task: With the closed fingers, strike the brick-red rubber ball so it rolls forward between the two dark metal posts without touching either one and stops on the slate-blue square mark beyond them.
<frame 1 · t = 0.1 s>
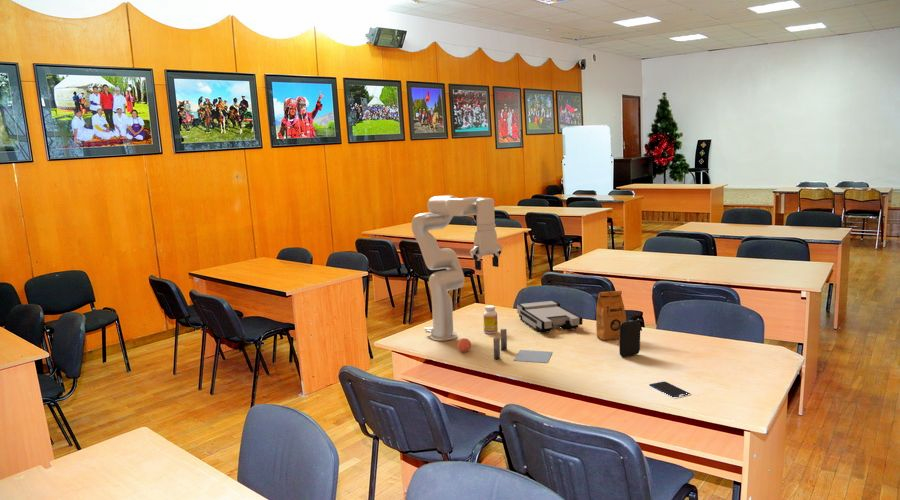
hand: (486, 268, 256), 37 cm above the table, tool pointing down, fingers open, 9 cm apart
carrying case or bag: (630, 356, 252), on the table
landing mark: (533, 356, 255), on the table
post 1: (497, 359, 253), on the table
cell phone: (669, 391, 215), on the table
game console: (548, 326, 302), on the table
ball: (464, 345, 264), on the table
post 2: (504, 349, 266), on the table
supplement bottle: (490, 332, 293), on the table
coffee package: (611, 338, 276), on the table
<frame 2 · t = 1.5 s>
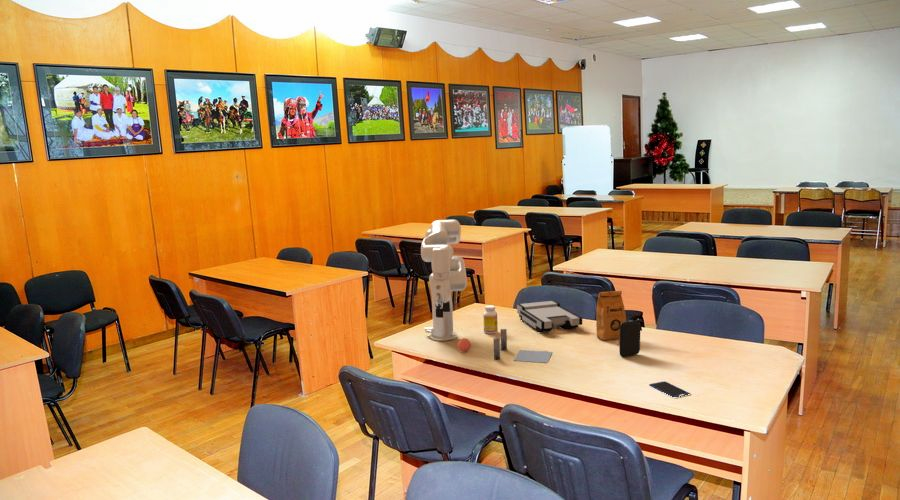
hand: (443, 314, 265), 16 cm above the table, tool pointing down, fingers open, 9 cm apart
nothing on the table moved.
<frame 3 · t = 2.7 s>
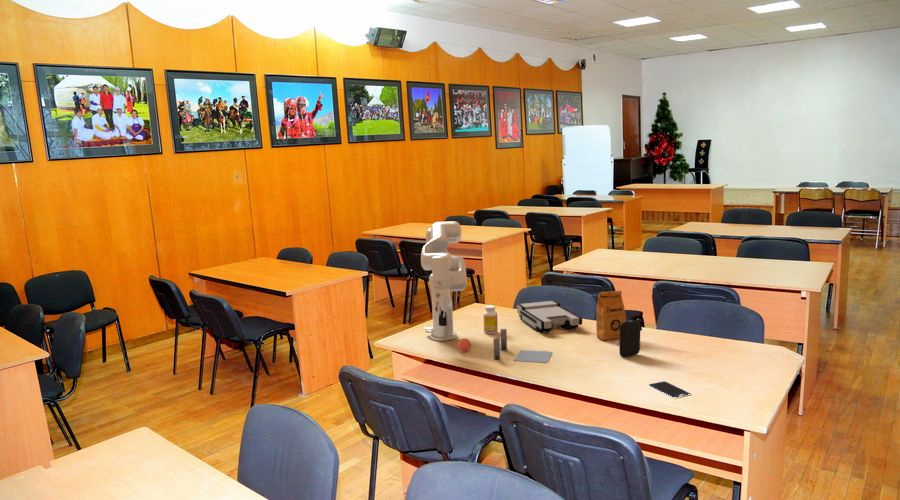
hand: (442, 325, 265), 12 cm above the table, tool pointing down, fingers closed
nothing on the table moved.
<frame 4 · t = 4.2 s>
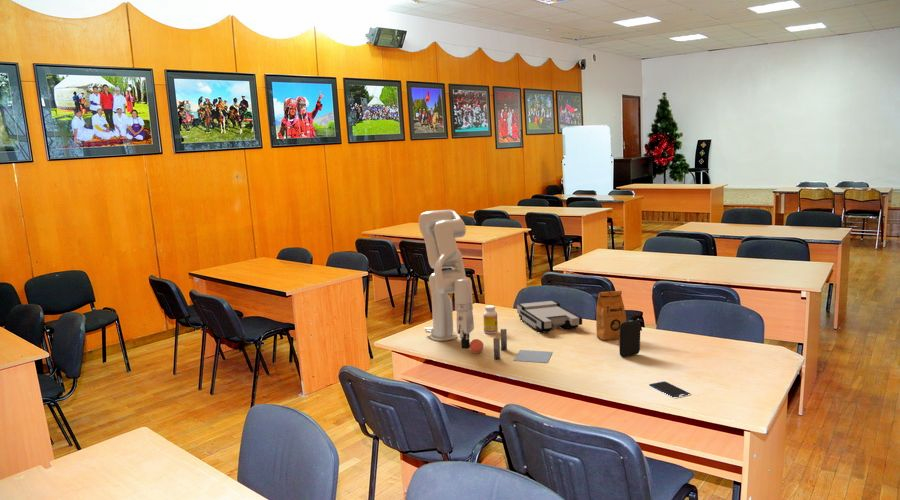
hand: (465, 348, 263), 2 cm above the table, tool pointing down, fingers closed
ball: (476, 346, 262), on the table
everything else where it was.
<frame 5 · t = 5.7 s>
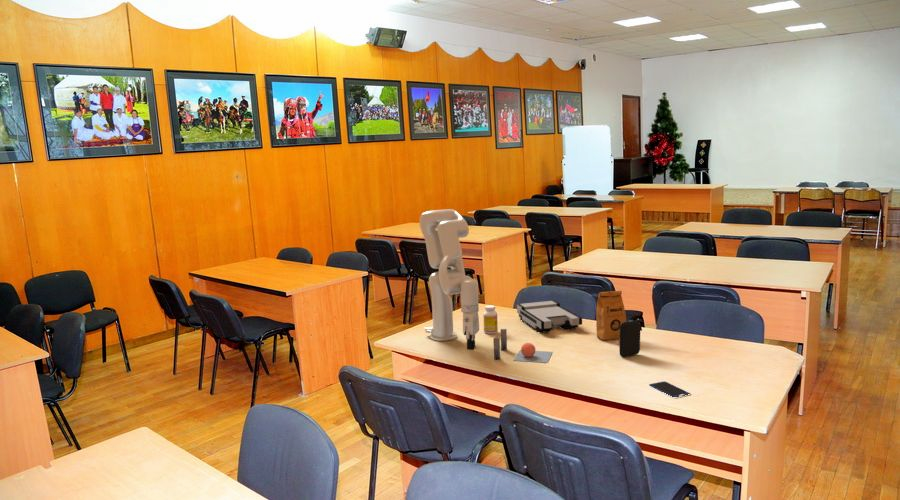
hand: (471, 349, 263), 2 cm above the table, tool pointing down, fingers closed
ball: (528, 350, 255), on the table
everything else where it was.
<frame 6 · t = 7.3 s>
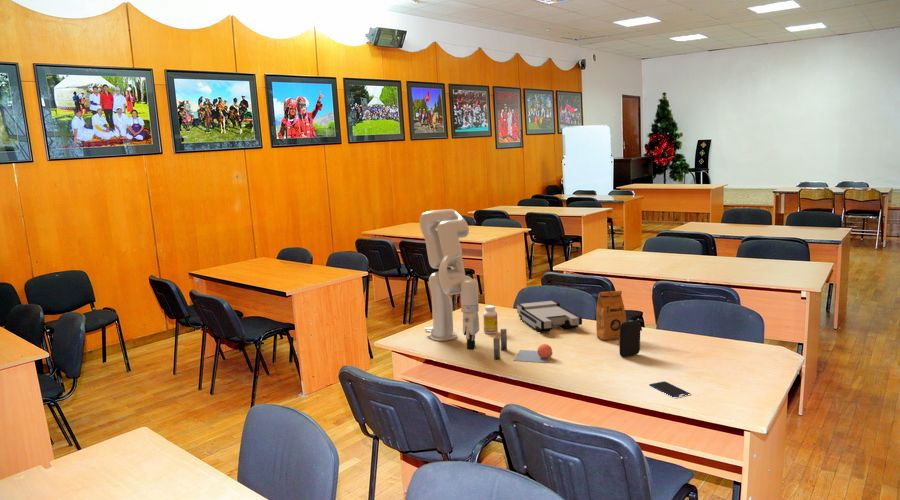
hand: (471, 349, 263), 2 cm above the table, tool pointing down, fingers closed
ball: (544, 351, 252), on the table
everything else where it was.
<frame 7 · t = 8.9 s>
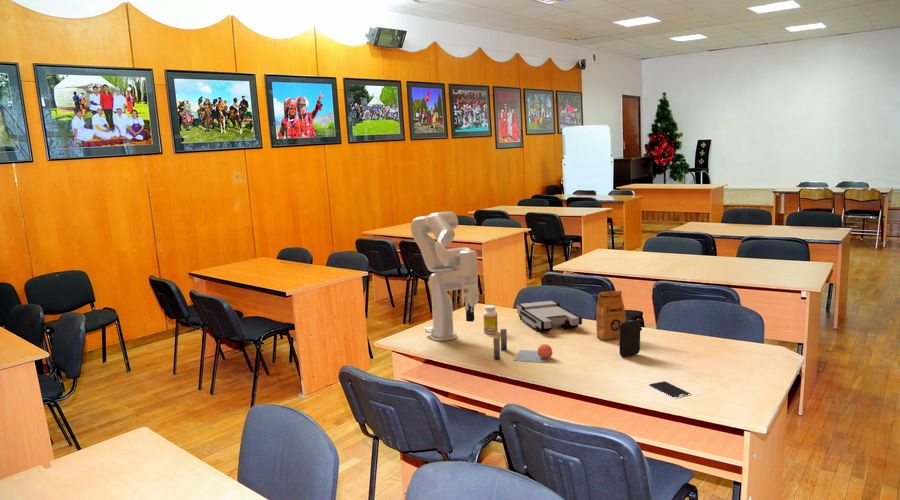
hand: (470, 320, 262), 14 cm above the table, tool pointing down, fingers closed
nothing on the table moved.
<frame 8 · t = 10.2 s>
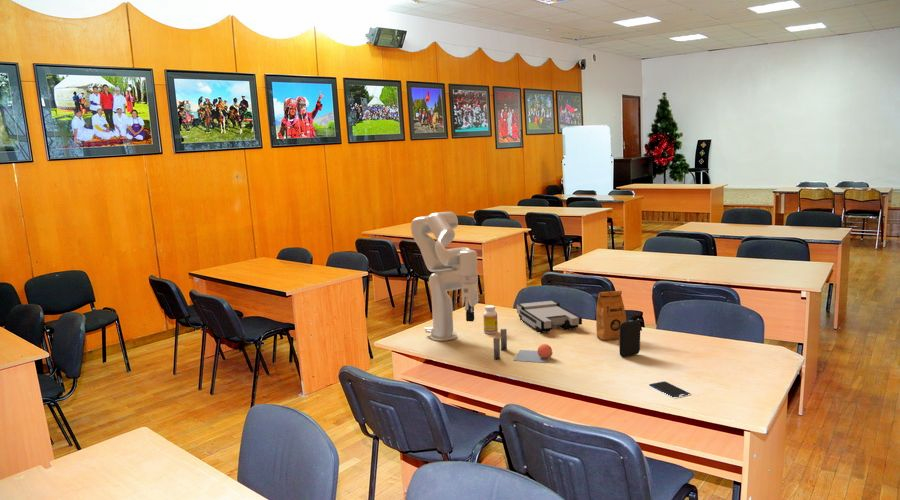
hand: (470, 320, 262), 14 cm above the table, tool pointing down, fingers closed
nothing on the table moved.
at the end: ball 5.2 cm from the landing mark (horizontally); ball never touched post 2; ball never touched post 1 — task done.
